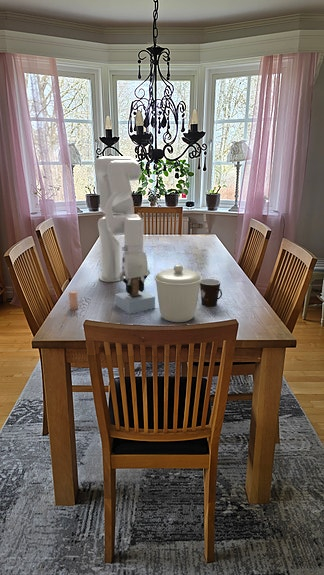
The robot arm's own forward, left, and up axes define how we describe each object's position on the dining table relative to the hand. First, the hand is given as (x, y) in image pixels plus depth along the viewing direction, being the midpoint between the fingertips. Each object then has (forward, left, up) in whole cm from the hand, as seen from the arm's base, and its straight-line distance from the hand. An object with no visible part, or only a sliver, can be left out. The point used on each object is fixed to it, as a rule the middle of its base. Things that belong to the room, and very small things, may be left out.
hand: (134, 291), depth 163 cm
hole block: (0, 0, -7) cm, 7 cm away
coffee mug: (+16, +27, -7) cm, 32 cm away
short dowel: (-12, -22, -7) cm, 26 cm away
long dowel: (0, 0, -7) cm, 7 cm away
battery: (-19, +12, -7) cm, 23 cm away
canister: (+19, +8, -7) cm, 22 cm away
